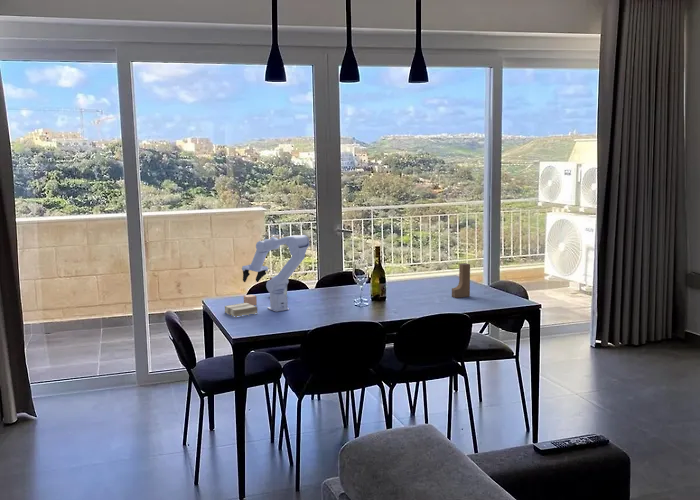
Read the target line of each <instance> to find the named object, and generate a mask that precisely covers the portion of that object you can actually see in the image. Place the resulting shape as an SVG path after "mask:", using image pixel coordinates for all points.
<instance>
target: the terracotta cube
mask: <svg viewBox="0 0 700 500" xmlns="http://www.w3.org/2000/svg"><path fill="white" fill-rule="evenodd" d="M243 303H249V304H251V305H255V306H258V302H257V295H255V294H246V295H243Z"/></svg>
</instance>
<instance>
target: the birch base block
mask: <svg viewBox="0 0 700 500" xmlns="http://www.w3.org/2000/svg"><path fill="white" fill-rule="evenodd" d="M226 313H227V315H228V314H229V315H228V316H231V315H232V316H231V317H233V316H235V317H236V318H238V317H237V316H242V315H248V316H250V315H249V314H254V315H256V314H255V313H257V314H258V307H257V305H255V306H254V305H251V304H249V303H244V302H242V303H235V304H230V305H224V314H226ZM235 317H234V318H235ZM242 317H243V316H242Z"/></svg>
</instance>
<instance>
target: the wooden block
mask: <svg viewBox="0 0 700 500" xmlns="http://www.w3.org/2000/svg"><path fill="white" fill-rule="evenodd" d="M458 264H459V266H458V267H459V268H458V269H459V270H458V274H459V275H458V284H457V286H455V287H453V288H451V297H452V298H454V299H458V298H469V297H471V296H470V295H471V292H470V291H471V285H470V284H471V264H470V263H468V262H465V263H458Z"/></svg>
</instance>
